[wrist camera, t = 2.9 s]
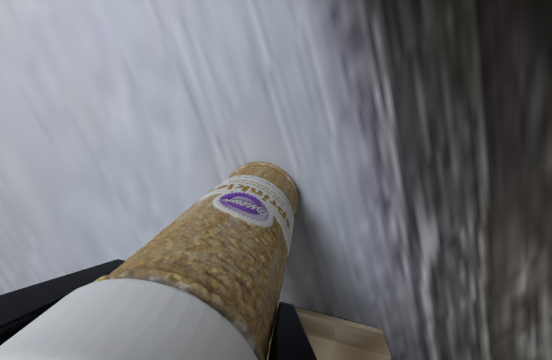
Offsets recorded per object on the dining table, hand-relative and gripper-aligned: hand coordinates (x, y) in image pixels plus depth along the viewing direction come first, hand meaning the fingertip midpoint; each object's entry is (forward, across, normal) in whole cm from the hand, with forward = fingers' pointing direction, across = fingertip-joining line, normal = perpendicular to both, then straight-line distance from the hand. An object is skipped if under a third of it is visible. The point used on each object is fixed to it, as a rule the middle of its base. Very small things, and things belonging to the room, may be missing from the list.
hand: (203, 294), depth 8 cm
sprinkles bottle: (+9, 0, 0) cm, 9 cm away
